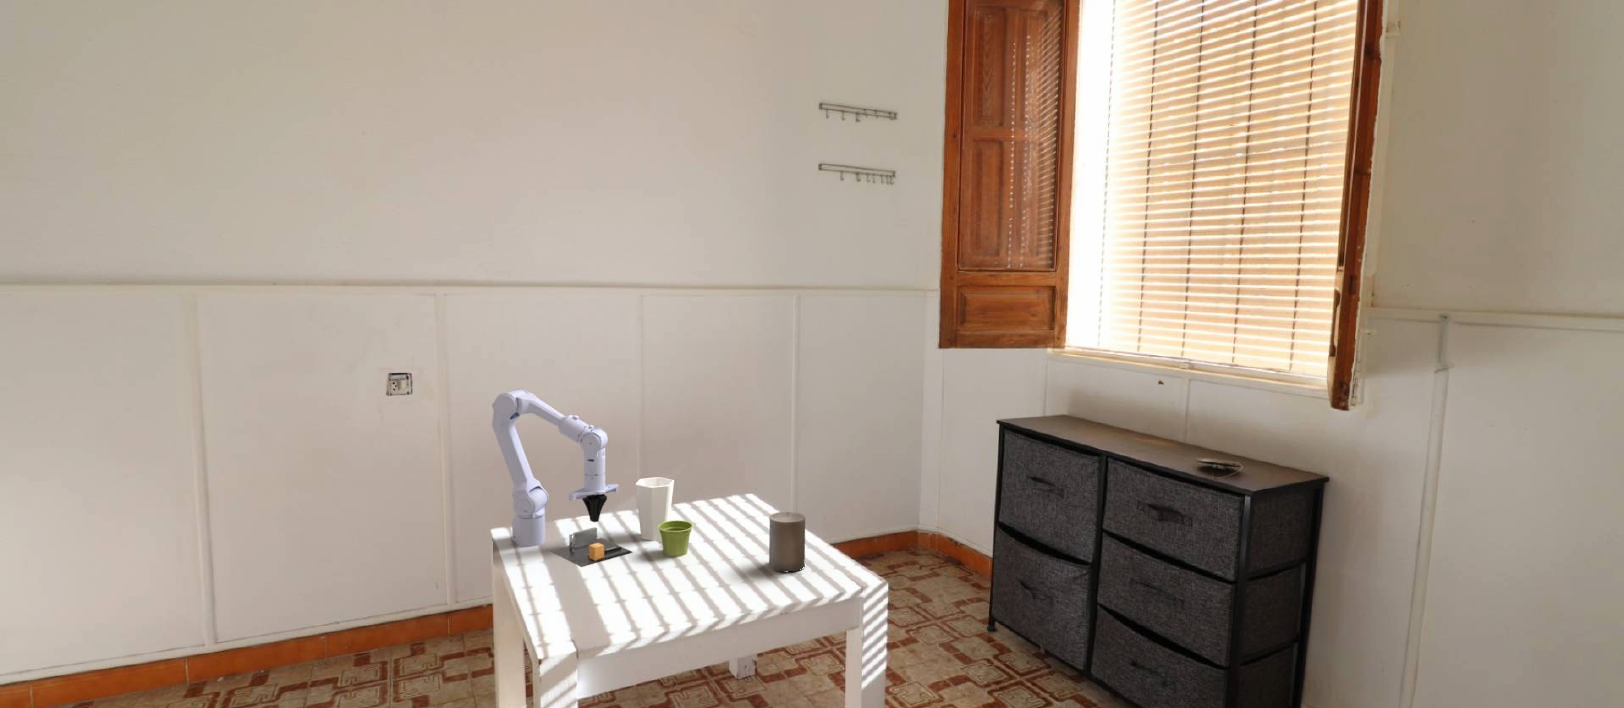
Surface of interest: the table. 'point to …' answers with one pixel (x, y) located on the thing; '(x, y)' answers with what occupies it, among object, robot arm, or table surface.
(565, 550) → the console
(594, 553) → the fader
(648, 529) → the cup
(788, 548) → the pillar candle
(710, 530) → the table surface
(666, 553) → the plant pot
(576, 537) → the gate
